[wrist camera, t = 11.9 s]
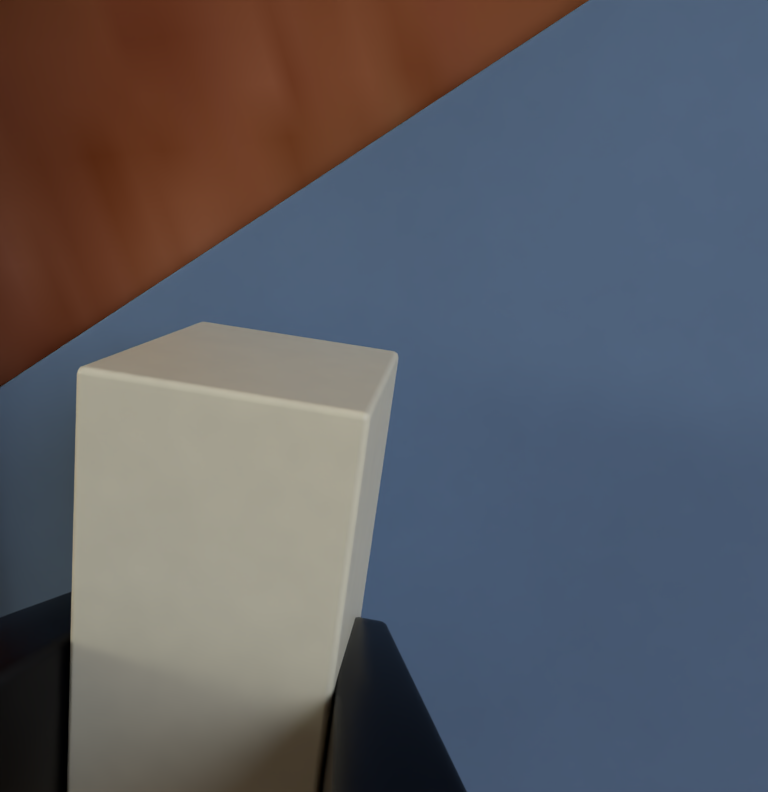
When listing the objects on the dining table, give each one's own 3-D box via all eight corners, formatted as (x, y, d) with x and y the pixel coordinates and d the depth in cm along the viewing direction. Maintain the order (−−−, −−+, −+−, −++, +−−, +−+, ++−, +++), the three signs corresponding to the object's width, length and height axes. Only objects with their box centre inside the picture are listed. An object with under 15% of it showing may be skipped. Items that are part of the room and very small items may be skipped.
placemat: (1043, -293, 8) (1074, -320, 7) (1429, 768, 10) (1469, 790, 10) (-180, 509, 12) (-203, 519, 11) (299, 1122, 14) (294, 1147, 14)
